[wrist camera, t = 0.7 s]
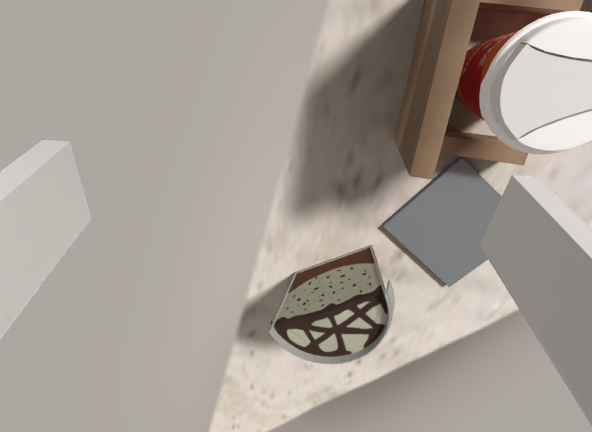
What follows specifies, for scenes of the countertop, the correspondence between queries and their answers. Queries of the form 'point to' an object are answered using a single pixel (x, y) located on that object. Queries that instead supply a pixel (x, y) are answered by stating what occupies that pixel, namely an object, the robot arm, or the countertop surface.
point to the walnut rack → (451, 84)
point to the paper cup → (534, 84)
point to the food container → (335, 310)
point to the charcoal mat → (447, 222)
